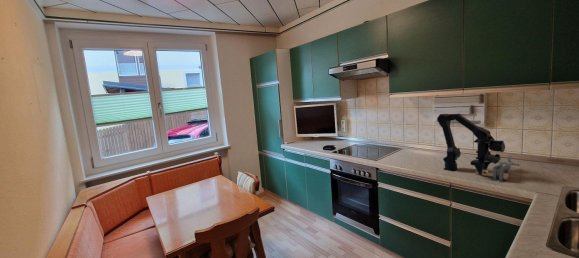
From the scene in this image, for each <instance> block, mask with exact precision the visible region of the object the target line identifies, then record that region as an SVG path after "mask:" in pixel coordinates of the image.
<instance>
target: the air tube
mask: <svg viewBox="0 0 579 258" xmlns="http://www.w3.org/2000/svg"><path fill="white" fill-rule="evenodd" d="M475 175H478V176H484V177H488V178H493V170H489V169H487V170H484V169H483V171H482V175H480V174H479V173H478V171H477V169H476V168H475ZM497 179H498V180H499V171H497ZM509 179H510V173H509V174H507V173H505V172H504V174H503V181H509Z"/></svg>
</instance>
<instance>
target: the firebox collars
mask: <svg viewBox="0 0 579 258" xmlns="http://www.w3.org/2000/svg"><path fill="white" fill-rule="evenodd" d="M492 171H493V177H492V178H491V180H492V181H493V180H494V182H497V181H499V182H498V183H503V182H504V180H503V174H504V173H507V174H509V175H510V171H509V165H505V164H499V163H498V164H497V165H496V166H494V167H493V169H492ZM497 172H499V179H498V178H497ZM502 181H503V182H502Z"/></svg>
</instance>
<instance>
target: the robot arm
mask: <svg viewBox="0 0 579 258" xmlns="http://www.w3.org/2000/svg"><path fill="white" fill-rule="evenodd" d="M436 118H437V122H438V124H439V126H440V127H441V128H442V132H443V136H444V139H445V143H446V147H447V148H446V156H445V157H443V158H442V159H443V162H444V168H443V170H445V171H449V172H454V171H456V170H458V163H457V160H458V159H459V158H460V157H461V154H462V152H461V149H460V147H458V148H457V146H456V143H455V140H454V136H453V132H452V129H451V122H452V121H456V122H458V123H459V124H461V125H462V126H463V127H465V128H466V129H468V130H469V131H470V132H471V133H472V134H473V136H474V137H476V139H475V140H474V141H473V143H477V150H476V151H475V153H476V154H477V157H475V159H473V160H471V161H470V165H471V166H474V167H475V170H476V169H477V171H478V173H479V174H480V175H479V176H482V171H483V169H484V170H488V167H489V165H491V164H495V165H496V164H497V165H498V164H499V161H501V159H502V158H501V155H500V154H499V153H505V149H506V145H505V141H504V140H498V139H497V140H496V139H495V138H494V137H493V136H492V135H491V131H490V130H488V129H486V128H484V127H481V126H478V125H476V124H475V123H474V122H472V121H471V120H469V119H467V118H466V117H465V116H463V115H462V114H461V113H452V114H448V113H444V114H438V116H437V117H436ZM492 152H498V153H496V154H493V153H492ZM491 153H492V154H491Z"/></svg>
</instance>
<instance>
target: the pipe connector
mask: <svg viewBox="0 0 579 258" xmlns="http://www.w3.org/2000/svg"><path fill="white" fill-rule="evenodd" d="M499 164H503V165H504V166H505V165H509V172H512V171H511V169H512V166H515V167H519V166H521V163H519V162H513V161H512V155H507V161H501V160H499V162H498V165H499Z"/></svg>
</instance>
